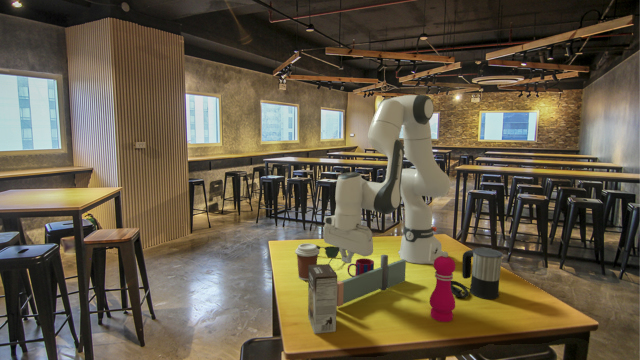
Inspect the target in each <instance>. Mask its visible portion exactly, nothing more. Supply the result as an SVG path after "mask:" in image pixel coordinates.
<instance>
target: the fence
mask: <svg viewBox="0 0 640 360" xmlns="http://www.w3.org/2000/svg"><path fill="white" fill-rule="evenodd" d="M388 262H389V255H388V254H381V255H380V268H383V274H382V288H381V289H379V290H381V291H387V289H389V288H392V287H394V286H396V285H399V284H401V283H403V282H406V269H407V268H406V267H407V266H406V265H407V263H406V262H407V261H406V260H404V259H399V260H397V261H394V262H391V263H388ZM334 272H335V273H336V274H337V272H336V271H334Z"/></svg>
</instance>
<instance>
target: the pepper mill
mask: <svg viewBox="0 0 640 360" xmlns="http://www.w3.org/2000/svg"><path fill="white" fill-rule="evenodd" d="M433 268H434V270H435V272H434V273H435V274H434V278H435V279H436V282H435V287H434V290H433V291H432V292H431V295H430V296H429V305H430V307H431V308H430V317H431V318H432V319H433V320H435V321H438V322H441V323H449V322H451V321H453V318H454V313H453V310H455V308H456V299H455V295H454V294H452V291H451V281H453V280H454V274H453V273H454V272H455V271H456V262H455V261H454V259H453V258H452V257H449V252H448V251H446V250H445V251H443V253H442V256H440V257H437V258H436V259H435V261H434V264H433Z"/></svg>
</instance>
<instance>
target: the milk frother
mask: <svg viewBox="0 0 640 360" xmlns="http://www.w3.org/2000/svg"><path fill="white" fill-rule="evenodd" d="M503 255H504V254H503V252H501V251H499V250H496V249H492V248H488V247H476V248H475V247H474V248H473V249H470V250H466V251H465V252H463V255H462V265H461V267H462V269H461V271H462V273H461V274H462V275H461V277H462V278H463V279H465V280H466V279H470V278H471V279H470V280H471V281H470V288H469V287H467V286H465V285H464V284H462V283H460V282H459V281H456V280H451V291H452V294H453V296H454V297H458V298H461V299H465V298H467V297H469V295H470V294H471V295H474V296H475V297H478V298H481V299H485V300H496V299H498V298H499V297H500V294H499V292H500V276H501V268H502V260H503V259H502V257H503ZM460 288H461V289H460ZM468 290H469V291H468ZM462 291H463V292H464V293H462Z"/></svg>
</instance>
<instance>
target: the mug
mask: <svg viewBox="0 0 640 360" xmlns="http://www.w3.org/2000/svg"><path fill="white" fill-rule="evenodd" d="M374 265H375V261H374V260H372V258H371V259H370V258H365V257H362V258H358V259H356V260H355V263H349V265H348V266H347V273H348V275H349V276H350V278H352V277H355V276H357V275H360V274H363V273H366V272H369V271H371V270H374V269H375V267H374ZM352 266H354V267H355V275H353V274H351V272H350V268H351V267H352Z"/></svg>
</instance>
